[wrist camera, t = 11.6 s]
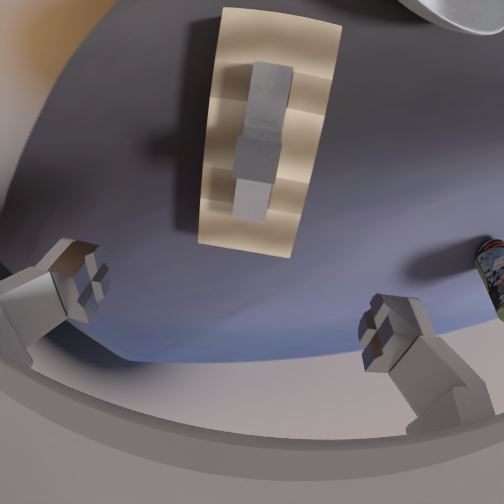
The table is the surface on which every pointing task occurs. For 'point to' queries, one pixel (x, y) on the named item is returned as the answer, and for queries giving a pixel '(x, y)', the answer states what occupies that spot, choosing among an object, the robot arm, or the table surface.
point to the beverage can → (493, 272)
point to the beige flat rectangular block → (293, 132)
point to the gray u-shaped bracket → (260, 141)
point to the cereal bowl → (461, 14)
